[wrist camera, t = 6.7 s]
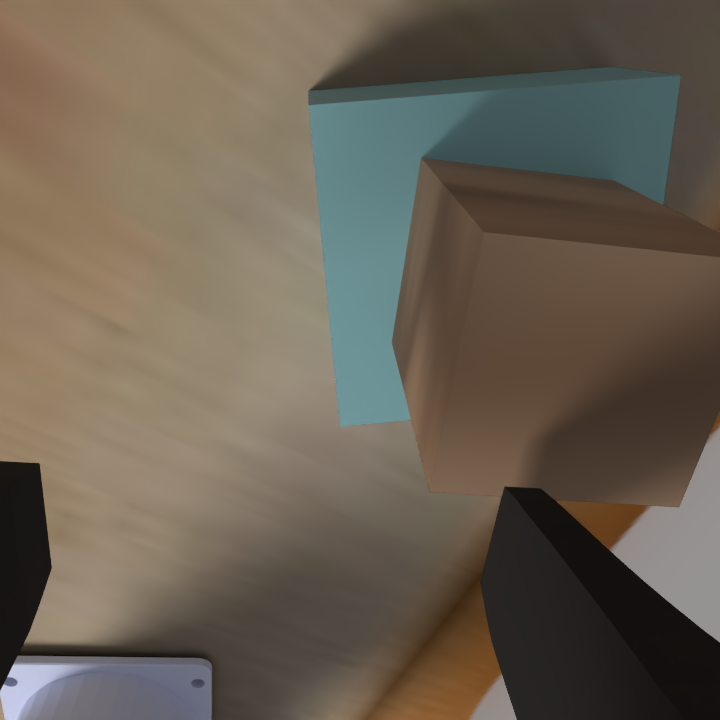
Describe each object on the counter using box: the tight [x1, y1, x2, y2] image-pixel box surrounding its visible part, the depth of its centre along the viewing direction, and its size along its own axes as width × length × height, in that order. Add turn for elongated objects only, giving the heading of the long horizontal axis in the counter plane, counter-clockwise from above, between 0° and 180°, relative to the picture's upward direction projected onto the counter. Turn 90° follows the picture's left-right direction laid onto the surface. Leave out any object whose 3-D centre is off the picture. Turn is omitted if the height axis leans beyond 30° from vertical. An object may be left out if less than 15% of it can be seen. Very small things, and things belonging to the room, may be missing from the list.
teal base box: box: [309, 67, 681, 427], centre depth 18 cm, size 8×8×4 cm
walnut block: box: [392, 158, 720, 507], centre depth 13 cm, size 4×4×6 cm
